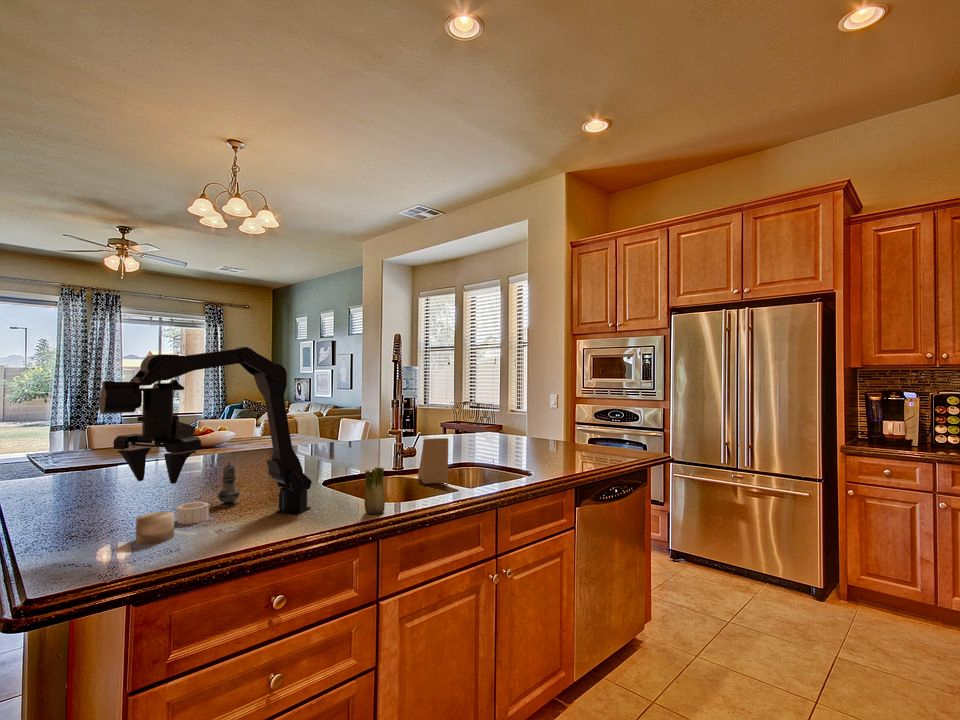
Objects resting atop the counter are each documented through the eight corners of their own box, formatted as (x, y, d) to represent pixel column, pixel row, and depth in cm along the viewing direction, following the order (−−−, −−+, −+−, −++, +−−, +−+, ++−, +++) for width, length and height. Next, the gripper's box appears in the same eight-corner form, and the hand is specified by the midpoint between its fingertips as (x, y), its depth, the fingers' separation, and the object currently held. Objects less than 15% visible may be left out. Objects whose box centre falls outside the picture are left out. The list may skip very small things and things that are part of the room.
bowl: (214, 519, 127) (214, 503, 127) (192, 526, 120) (192, 510, 120) (193, 516, 129) (193, 501, 129) (170, 524, 122) (171, 507, 122)
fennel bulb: (365, 517, 129) (365, 470, 130) (361, 512, 134) (362, 466, 134) (387, 514, 132) (387, 468, 132) (383, 509, 136) (383, 465, 136)
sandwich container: (440, 473, 185) (440, 432, 185) (448, 482, 170) (448, 438, 170) (417, 474, 183) (417, 433, 183) (423, 483, 168) (423, 438, 168)
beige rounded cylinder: (181, 535, 112) (181, 513, 112) (153, 546, 106) (153, 522, 106) (156, 532, 114) (157, 510, 114) (127, 542, 108) (128, 519, 108)
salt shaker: (230, 508, 136) (231, 464, 136) (211, 507, 137) (212, 463, 138) (244, 503, 142) (245, 460, 142) (226, 501, 143) (227, 459, 143)
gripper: (220, 409, 116) (219, 477, 116) (157, 407, 121) (156, 472, 121) (180, 413, 105) (178, 488, 105) (112, 411, 110) (110, 482, 110)
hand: (156, 482), depth 111 cm, fingers open, 9 cm apart
